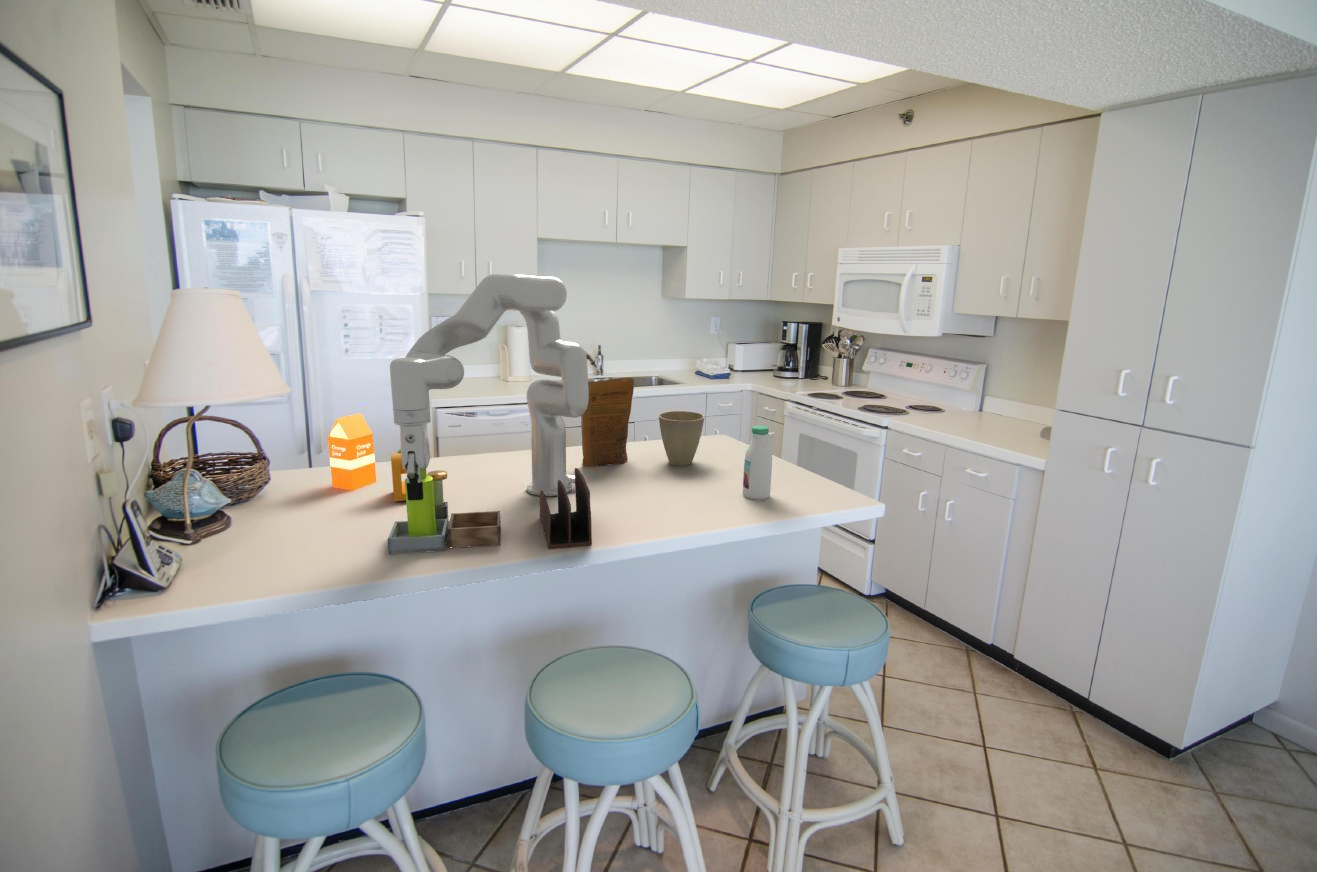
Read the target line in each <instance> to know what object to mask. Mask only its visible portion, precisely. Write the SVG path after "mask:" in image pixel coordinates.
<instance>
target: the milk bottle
mask: <svg viewBox="0 0 1317 872" xmlns="http://www.w3.org/2000/svg"><path fill="white" fill-rule="evenodd" d="M769 433H770V432H769V427H768V426H765V425H753V426H752V428H751V435H752V436H751V439H750V442H749V445H748V446H747V449H746V451H745V455H744V461H743V463H744V465H743V477H742V478H743V479H742V480H743V481H742V496H743V497H745V498H747V499H749V500H750V499H751V500H756V501H757V500H758V501H760V500H767V499H769V498H770V496H771V489H772V486H771V485H772V484H771V483H772V473H773V472H772V471H773V469H772V468H773V454H772V449H771V447H770V445H769V441H768V436H769Z"/></svg>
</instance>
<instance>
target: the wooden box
mask: <svg viewBox="0 0 1317 872" xmlns="http://www.w3.org/2000/svg"><path fill="white" fill-rule="evenodd" d="M449 521H450V522H449V527H448V539H447V540H448V549H451V548H450V547H463V548H469V547H468V546H479V547H486V546H485V545H495V546H501V544H502V543H501V541H502V540H501V539H502V538H501V537H502V533H501V532H502V531H501V530H502V527H501V525H502V523H501V522H502V521H501V511H500V510H495V511H494V510H493V511H489V510H488V511H473V512H471V511H470V512H456V513H455V512H454V513H453V512H452V513H451V514H450V518H449Z"/></svg>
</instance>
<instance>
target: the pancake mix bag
mask: <svg viewBox="0 0 1317 872" xmlns="http://www.w3.org/2000/svg"><path fill="white" fill-rule="evenodd" d="M634 388H635V378H633V377H619V378H612V379H606V380H596V381H588V389H589V400H588V406H587V409H586V411H585V413H584V414H583V415H582V416H580V419H581V421H580V426H581V427H580V429H581V447H582V449H581V451H582V461H581V463H582V464H581V466H583V467H589V468H590V467H591V468H596V467H601V466H609V465H610V466H611V465H617V464H624V463H627V462H628V460H629V459H628V454H627V441H628V435H629V421H630V417H631V411H632V402H633V397H634V390H635V389H634Z"/></svg>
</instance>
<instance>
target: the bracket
mask: <svg viewBox="0 0 1317 872" xmlns="http://www.w3.org/2000/svg"><path fill="white" fill-rule="evenodd" d="M390 461H391V462H390V464H391V465H390V466H391V476H392V491H393V502H399V501H400V502H402V501H406V491H405V481H402V475H407V470H404V469H403V465H402V456H401V453H400V454H399V453H395V454H390Z"/></svg>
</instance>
